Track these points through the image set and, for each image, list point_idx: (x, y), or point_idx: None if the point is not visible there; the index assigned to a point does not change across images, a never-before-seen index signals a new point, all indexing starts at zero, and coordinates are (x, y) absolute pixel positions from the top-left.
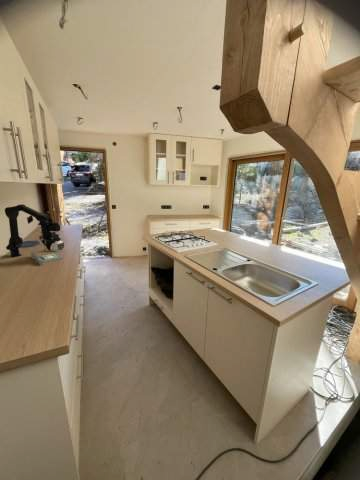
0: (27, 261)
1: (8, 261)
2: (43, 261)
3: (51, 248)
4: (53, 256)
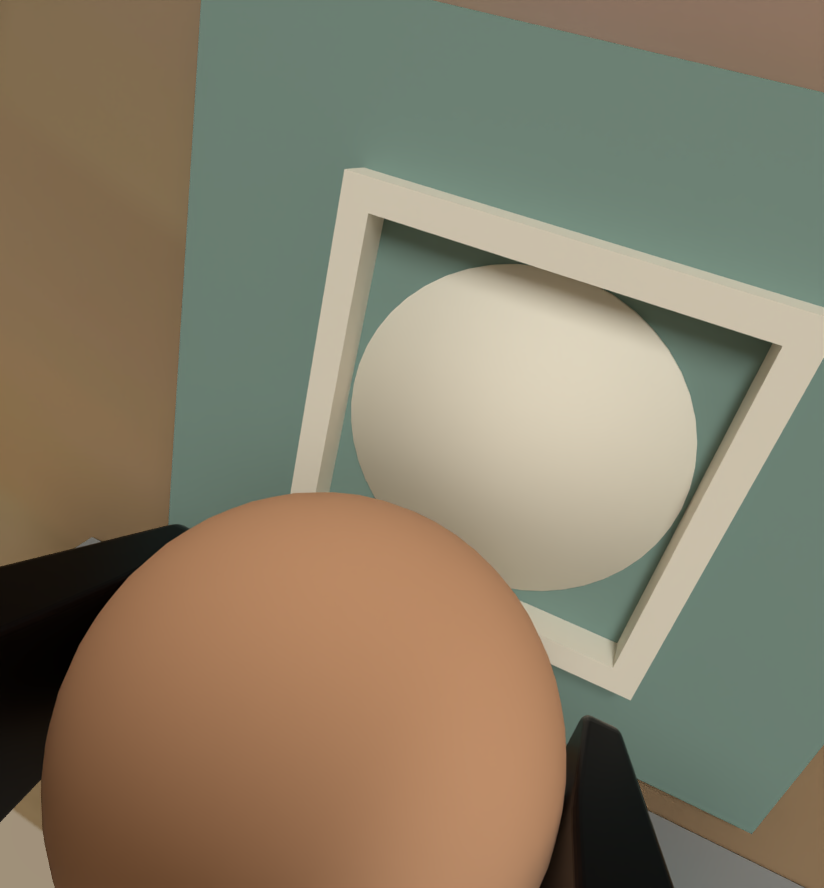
0: None
1: None
2: (723, 787)
3: (529, 642)
4: (580, 321)
